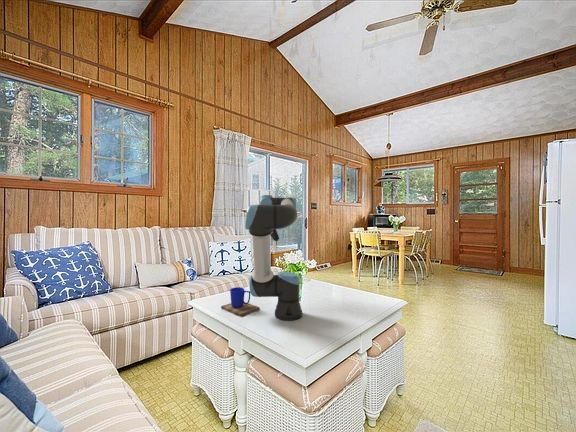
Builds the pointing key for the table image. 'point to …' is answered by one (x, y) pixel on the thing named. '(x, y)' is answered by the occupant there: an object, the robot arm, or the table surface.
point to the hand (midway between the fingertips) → (267, 251)
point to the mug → (238, 297)
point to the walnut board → (240, 309)
